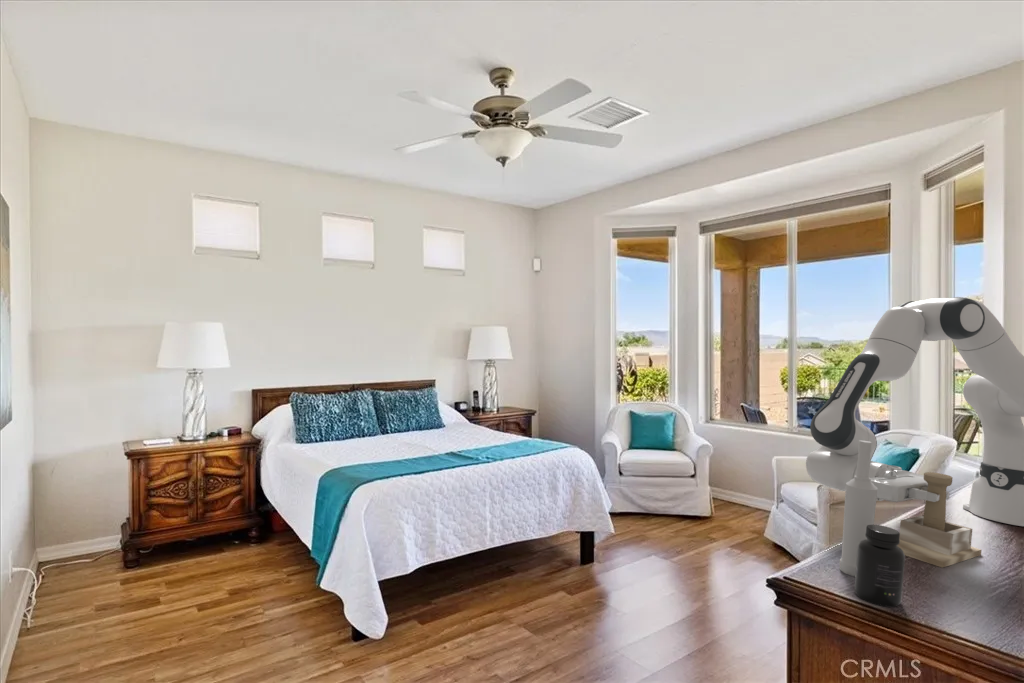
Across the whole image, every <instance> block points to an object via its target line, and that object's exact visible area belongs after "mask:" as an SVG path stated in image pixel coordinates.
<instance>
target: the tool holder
mask: <svg viewBox="0 0 1024 683" xmlns="http://www.w3.org/2000/svg"><path fill="white" fill-rule="evenodd" d="M923 516H924V514H923V515H918V516H913V517H910V518H904V519H901V520H900V524H899V533H900V537H899V540H900V543H899V544H898V545H897V546H898V547H899V548H901V549H902V551H903V552H904V554H905V557H910V558H911V559H914V560H915V559H916V560H919V561H921V562H924V563H927V564H929V565H932V566H936V567H938V568H941V569H942V568H945V567H949V566H952V565H956V564H958V563H961V562H964V561H967V560H971V559H972V558H977V557H980V556H982V550H983V549H981V548H977V547H975V546H972V536H973V528H972V527H971V528H970V527H968V526H964V525H959V524H956V523H952V522H949V521H946V520H945V528H944V531H941V530H938V529H934V528H931V527H927V526H924V525H923Z"/></svg>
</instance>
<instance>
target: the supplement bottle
mask: <svg viewBox="0 0 1024 683" xmlns="http://www.w3.org/2000/svg"><path fill="white" fill-rule="evenodd" d="M865 537H866V538H867V539H865V540H862V541H861V542H860V543H859V544H858V551H857V563H856V575H855V576H854V578H855V579H854V592H855V594H856V596H857V597H858V598H860V599H862V600H863V601H865V602H868V603H870V604H874V605H876V606H881V607H886V608H892V607H894V608H895V607H898V606H900V605H901V603H902V598H903V596H902V595H903V584H904V574H905V562H906V561H905V560H906V555H905V554H904V552H903V551H902V549H901V548H899V547H898V546H897V545H898V544H899V543H900V540H899V537H900V531H898V530H897V529H895V528H892V527H889V526H886V525H880V524H874V525H867V527H866V533H865Z"/></svg>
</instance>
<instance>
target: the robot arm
mask: <svg viewBox="0 0 1024 683" xmlns="http://www.w3.org/2000/svg"><path fill="white" fill-rule="evenodd" d="M947 340H951V341H952V344H953V345H954V346H955V349H956V350H957V351H958V353H959V355H960V356H961V358H962V360H963V361H964V363H965V364H966V366H967V367H968V369H969V370H970V371H971V372H972V373H974V375H971V376H970V377H969V378H968V379H967V380H966V381H965V383H964V386H963V388H962V391H963V393H962V394H963V398H964V400H965V401H966V403H968V405H969V406H971V408H972V409H973V410H974V411H975V413H976V414H977V417H978V418H979V421H980V423H981V424H980V425H981V426H982V431H983V456H982V461H980V466H979V475H980V476H979V477H978V478H976V479H974V480H972V485H971V490H970V491H971V492H970V497H969V502H968V503H965V504H963V505H962V509H963V510H966V511H969V512H971V513H972V514H973V515H975V516H978V517H980V518H984V519H987V520H990V521H994V522H997V523H1003V524H1008V525H1012V526H1019V527H1024V424H1023V421H1022V417H1023V418H1024V355H1023V354H1022V353H1021V352H1020V351H1019V349H1018V348H1017V347H1016V345H1015V343H1014V342H1013V341H1012V339H1011V338H1010V337H1009V335H1008V333H1007V332H1006V330H1005V328H1004V327H1003V325H1002V324H1001V322H1000V321H999V319H997V317H996V316H995V315H994V313H993V312H991V310H990V309H989V308H988V307H987V306H986V305H984V303H982V302H981V301H979V300H975V299H972V298H968V297H962V296H955V297H933V298H928V299H926V298H925V299H921V300H917V301H914V300H912V301H906V302H903V303H901V304H899V305H897V306H895V307H894V306H893V307H891V308H889V309H888V310H886V311H885V312H884V313H883V314H882V316H881V317H880V319H879V320H878V322H877V323H876V324H875V327H874V328H873V330H872V331H871V334H870V336H869V337H868V340H867V342H866V344H865V346H864V348H863V350H862V351H861V353H860V354H858V355H857V356H856V357H854V359H852V361H851V362H850V363H849V365H848V366H847V368H846V370H845V371H844V373H843V375H842V376H841V378H840V379H839V381H838V383H837V385H836V386H835V388H834V390H833V391H832V393H831V395H830V396H829V398H828V399H827V401H826V402H825V403H824V404H823V405H822V407H820V408H819V409H818V410H817V411H816V412H815V413H814V415H813V417H812V419H811V421H810V425H809V426H810V428H809V429H810V434H811V437H812V438H813V440H814V441H815V442H817V444H819V445H821V446H819V447H818V448H817V449H815V450H812V451H810V452H809V453H808V454H807V455H806V456H807V457H806V461H805V468H806V472H807V474H808V475H809V478H810V479H812V480H813V481H814V483H815V482H816V483H817V484H818V485H822V486H824V487H827V488H829V489H833V490H838V491H841V492H845V490H846V483H847V482H849V481H850V480H852V479H854V476H855V475H856V474H857V463H858V447H859V441H860V440H861V441H869V442H872V444H871V452H870V464H869V478H870V479H871V480H870V481H871V482H872V483H873V484H874V485H875V486H876V487H877V489H878V490H877V499H876V502H884V501H887V502H892V503H901V502H907V501H911V500H922V501H926V500H928V501H932V502H937V501H939V497H940V495H939V494H938V493H934V492H927V490H928V483H927V482H926V481H925V480H924V474H920V473H916V472H912V471H910V470H909V471H908V470H903V468H902V467H900V466H897V465H893V464H892V465H891V464H886V463H883V462H878V461H873V460H872V459H873V456H874V454H875V452H876V450H877V445H878V440H877V437H876V435H875V433H874V432H873V431H872V429H870V428H869V427H867V425H865V424H863V423H862V422H860V421H859V420H858V419H857V418H856V411H857V409H858V407H859V405H860V403H861V402H862V400H863V398H864V396H865V395H866V393H867V391H868V390H869V388H870V386H872V384H873V383H875V382H878V381H881V382H891V381H896V380H899V379H901V378H903V377H905V376H906V374H908V372H909V371H910V370H911V367H912V366H913V364H914V361H915V359H916V358H917V355H918V352H919V351H920V350H919V349H920V347H921V344H922V341H926V342H927V341H928V342H936V341H947ZM949 499H950V491H947V490H946V501H947V500H949Z"/></svg>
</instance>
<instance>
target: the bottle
mask: <svg viewBox="0 0 1024 683" xmlns="http://www.w3.org/2000/svg"><path fill="white" fill-rule="evenodd" d="M871 444H872V442H869V441H861V440H860V441H859V447H858V463H857V474H856V475H855V476H854V479H852V480H850V481H849V482H847V483H846V490H845V491H844V492H845V493H844V494H845V495H844V509H843V526H842V527H843V528H842V530H843V531H842V542H841V543H842V544H841V545H842V546H841V558H840V559H839V562H838V563H839V570H840V571H841V572H842V573H844V574H846V575H849V576H851V577H855V575H856V563H857V551H858V544H859V543H860V542H861V541H862V540H865V539H867V538H866V537H865V533H866V527H867V525H875V517H876V516H875V515H876V508H877V500H876V499H877V490H878V489H877V487H876V486H875V485H874V484H873V483H872V482H871V481H870V480H871V479H870V478H869V464H870V452H871Z"/></svg>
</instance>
